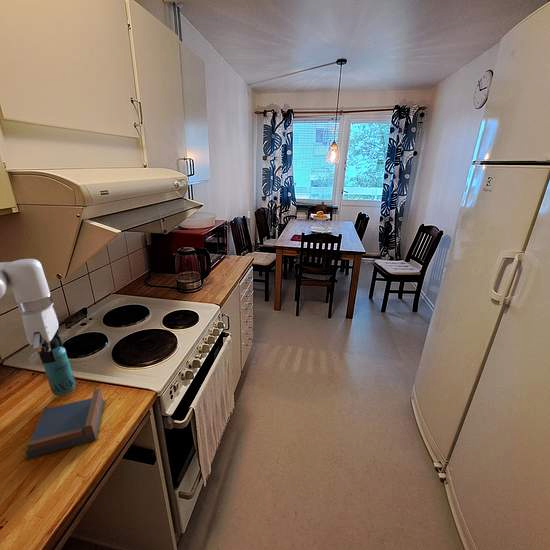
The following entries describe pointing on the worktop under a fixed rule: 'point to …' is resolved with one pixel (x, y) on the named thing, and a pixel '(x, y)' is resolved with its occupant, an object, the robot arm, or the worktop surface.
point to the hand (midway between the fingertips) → (53, 354)
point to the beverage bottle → (59, 370)
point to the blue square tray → (66, 425)
